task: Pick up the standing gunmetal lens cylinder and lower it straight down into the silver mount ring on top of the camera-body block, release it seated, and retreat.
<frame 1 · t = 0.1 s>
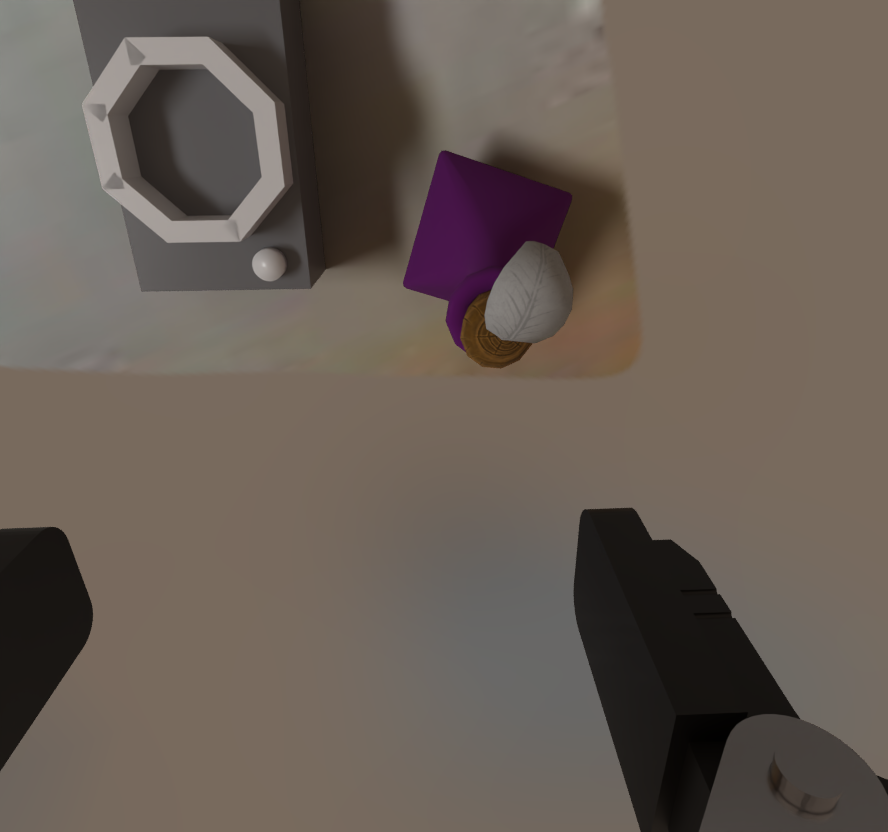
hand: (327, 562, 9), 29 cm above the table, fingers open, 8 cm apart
perfume bottle: (480, 232, 35), on the table
camera body: (232, 144, 33), on the table
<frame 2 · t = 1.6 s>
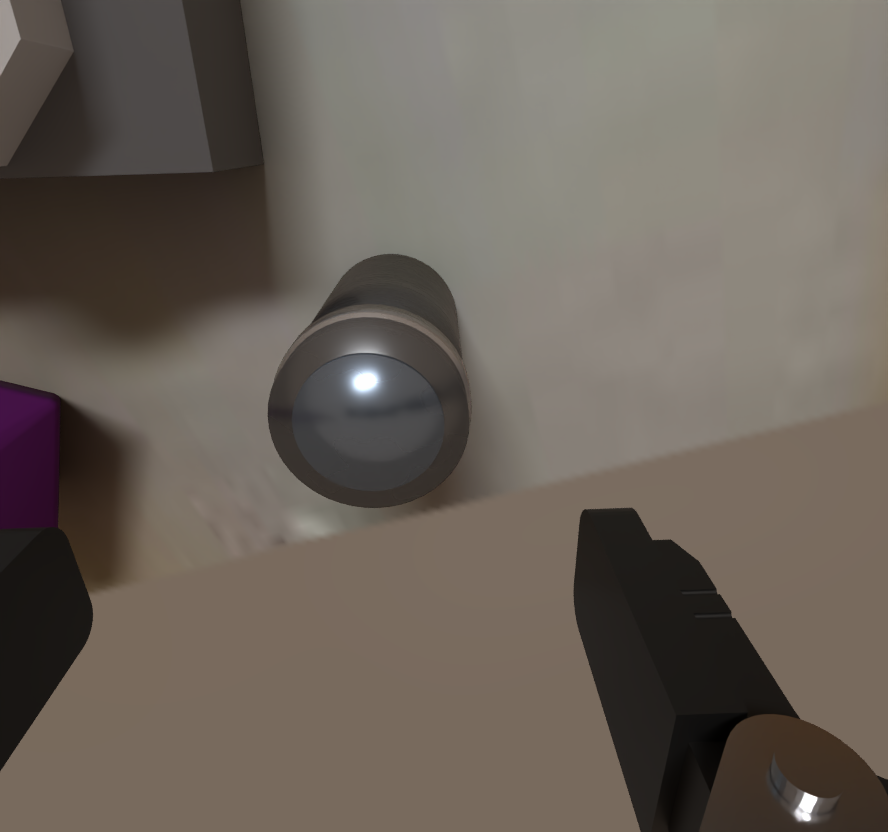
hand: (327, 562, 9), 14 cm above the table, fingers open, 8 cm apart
perfume bottle: (9, 424, 24), on the table
lens: (393, 318, 22), on the table
camera body: (9, 10, 18), on the table
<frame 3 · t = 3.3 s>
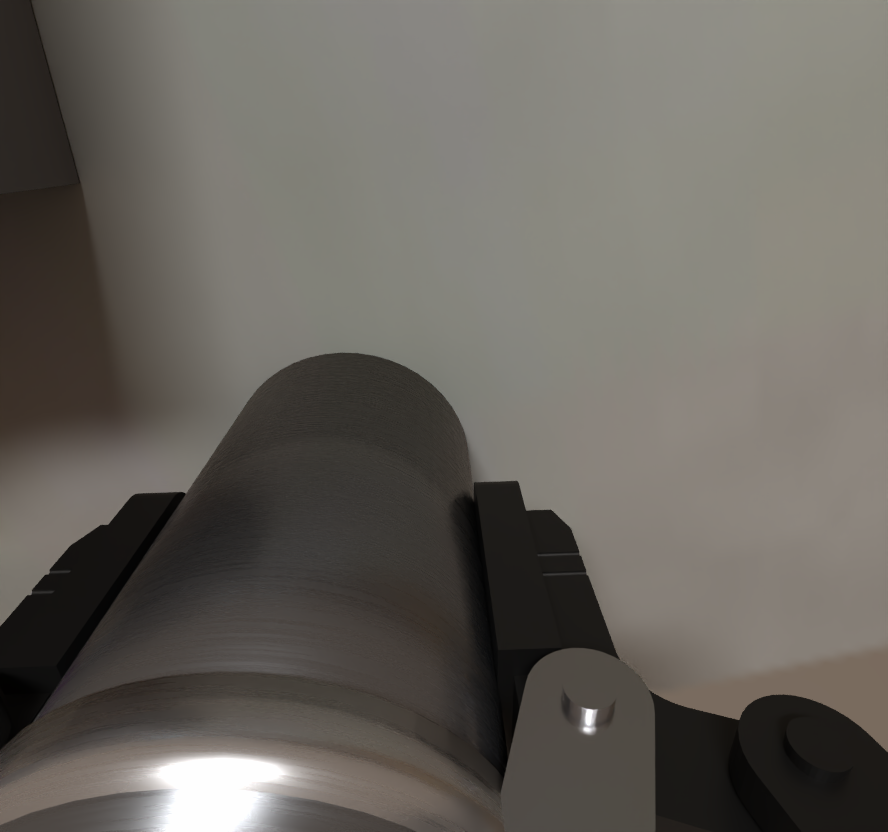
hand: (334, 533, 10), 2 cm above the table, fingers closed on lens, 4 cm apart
lens: (352, 462, 12), on the table, touching gripper
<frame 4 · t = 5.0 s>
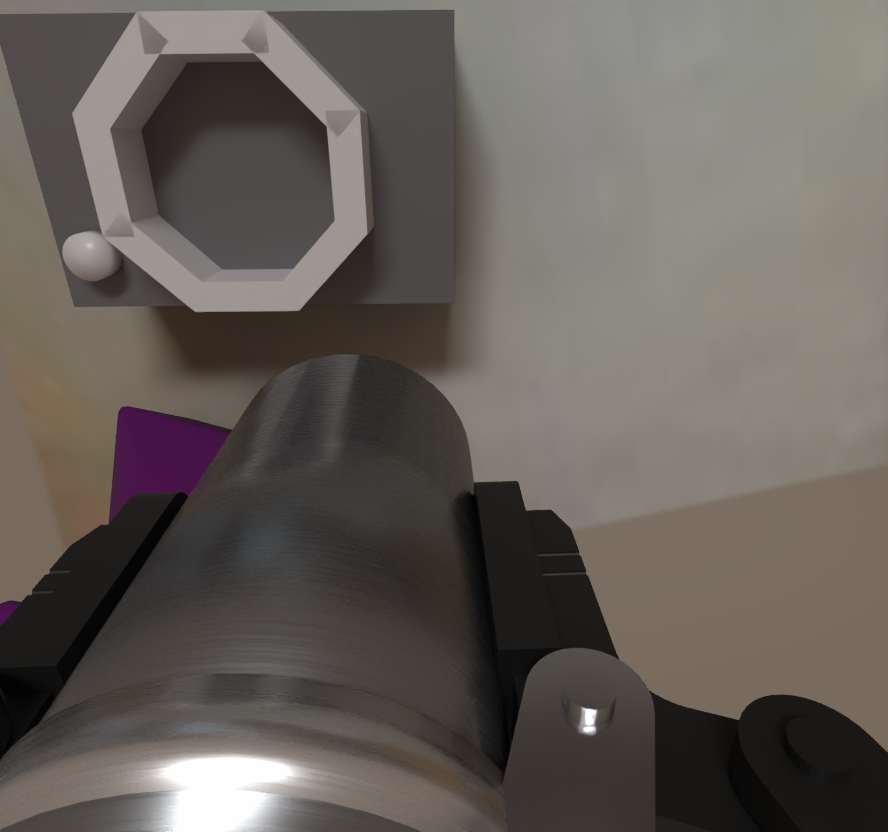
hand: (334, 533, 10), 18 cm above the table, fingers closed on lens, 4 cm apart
perfume bottle: (221, 460, 30), on the table
lens: (354, 463, 12), point 16 cm above the table, touching gripper
camera body: (282, 166, 24), on the table
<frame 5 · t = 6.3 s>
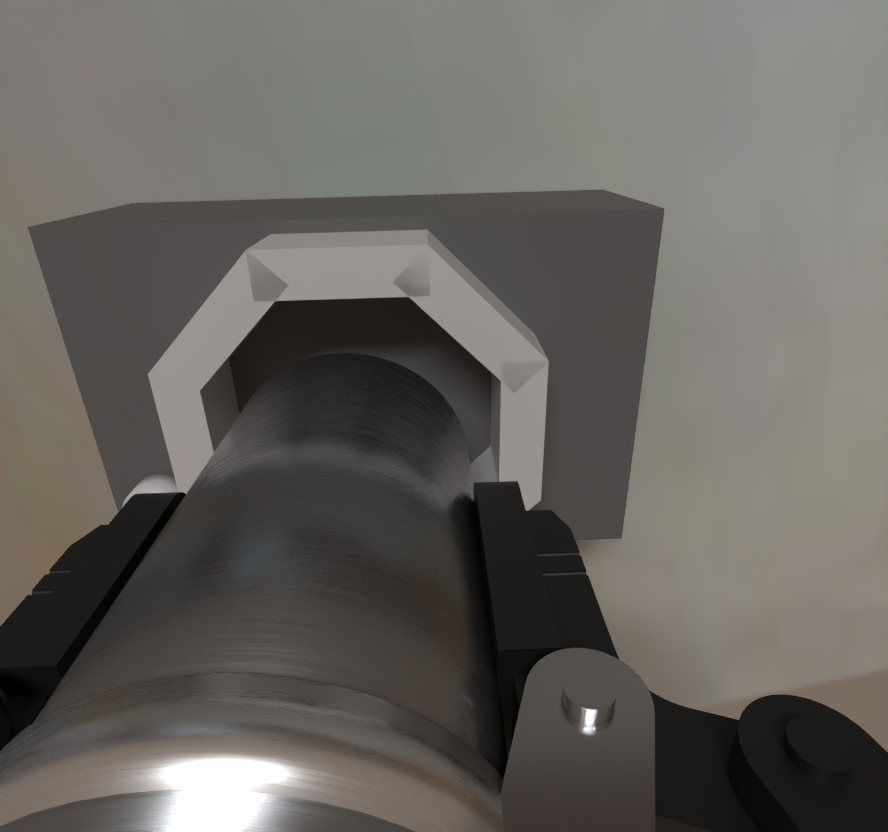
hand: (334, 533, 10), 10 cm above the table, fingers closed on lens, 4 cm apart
lens: (352, 463, 12), point 8 cm above the table, touching gripper
camera body: (379, 341, 19), on the table
when the fingers open (8 cm above the table, at t = 7.1 s): lens stays where it is, resting on camera body.
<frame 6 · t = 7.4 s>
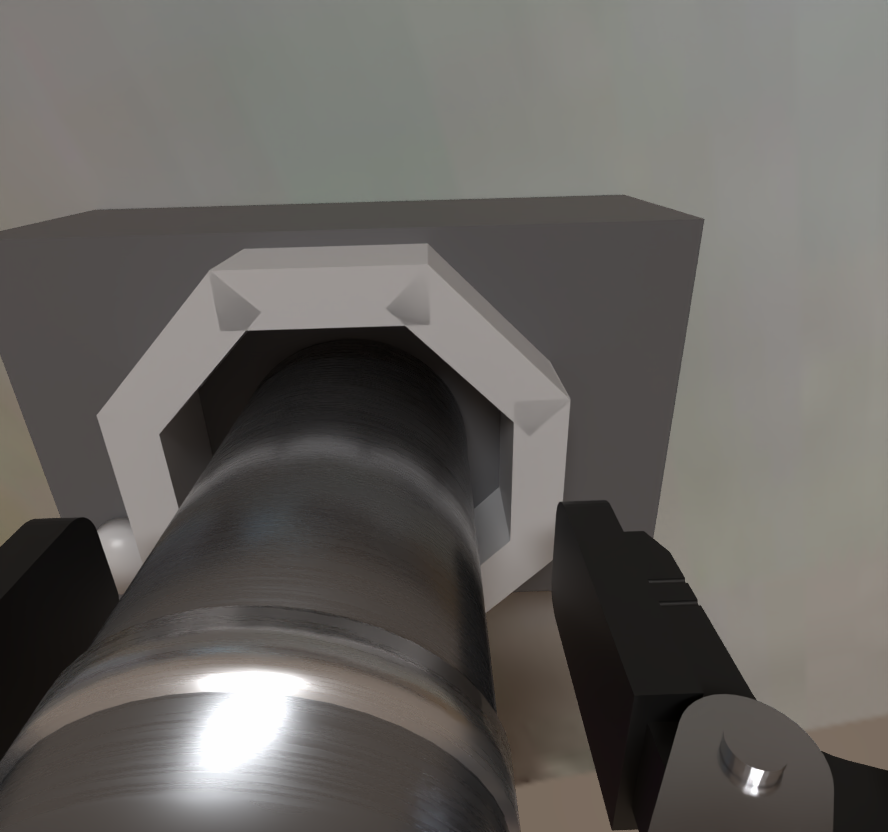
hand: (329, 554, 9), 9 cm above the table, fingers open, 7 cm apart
lens: (357, 442, 13), point 5 cm above the table, touching camera body
camera body: (374, 362, 17), on the table
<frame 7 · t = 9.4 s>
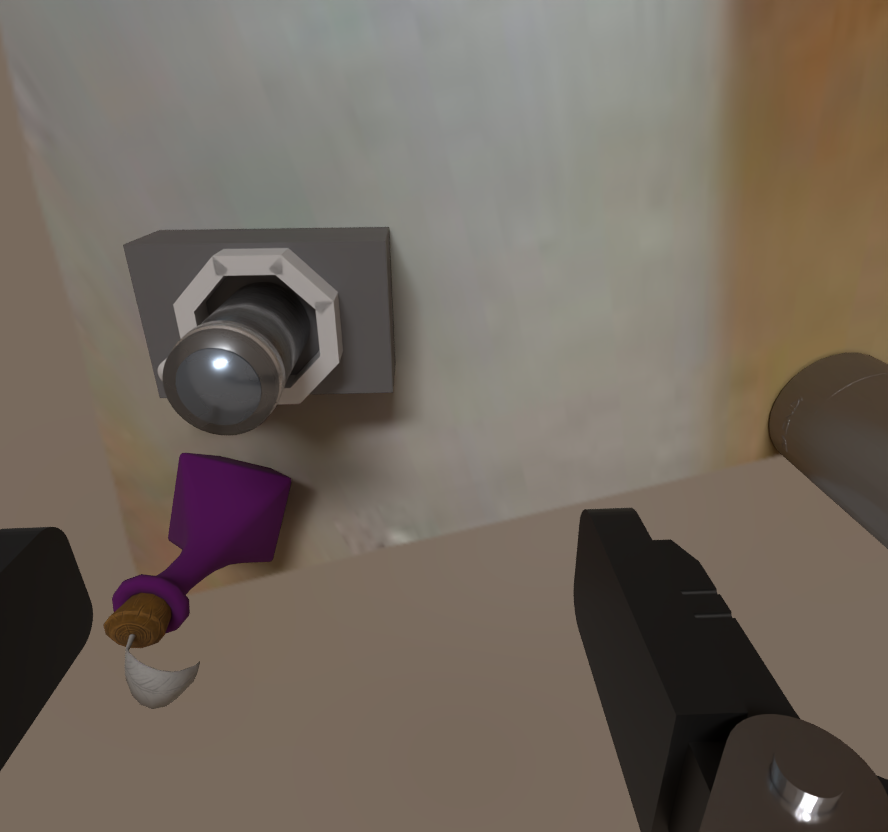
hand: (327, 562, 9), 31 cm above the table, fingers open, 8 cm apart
perfume bottle: (241, 483, 44), on the table
lens: (267, 323, 34), point 5 cm above the table, touching camera body
camera body: (284, 300, 38), on the table
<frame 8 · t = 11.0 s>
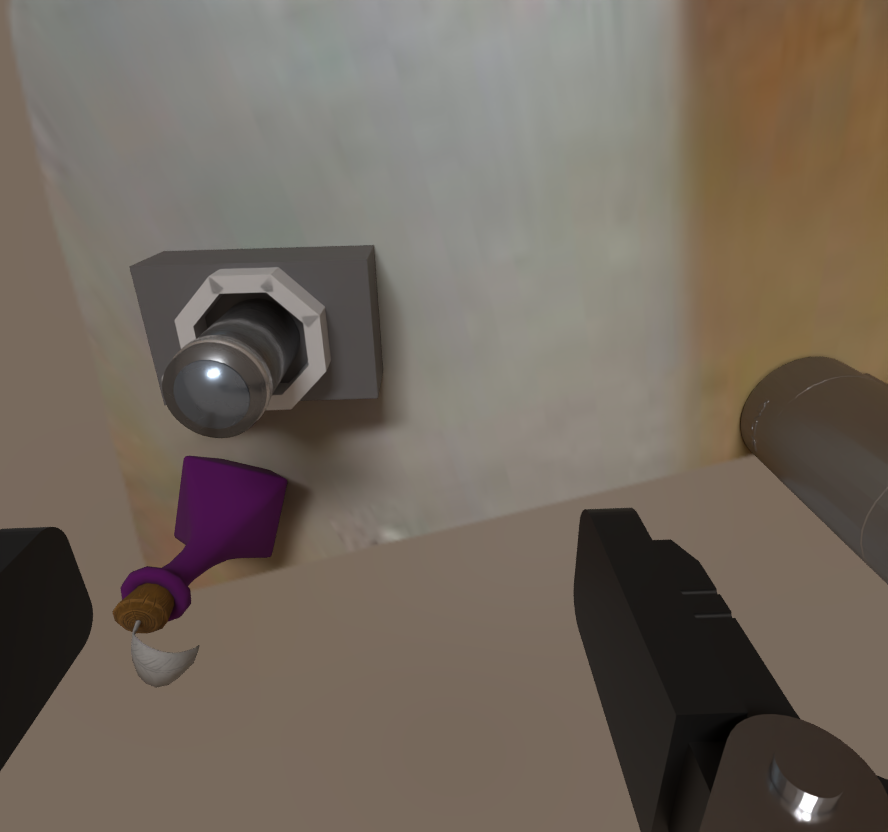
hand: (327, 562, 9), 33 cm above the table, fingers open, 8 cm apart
perfume bottle: (242, 484, 47), on the table
lens: (261, 336, 37), point 5 cm above the table, touching camera body
camera body: (278, 314, 41), on the table
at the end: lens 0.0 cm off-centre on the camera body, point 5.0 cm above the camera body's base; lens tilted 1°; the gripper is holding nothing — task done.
